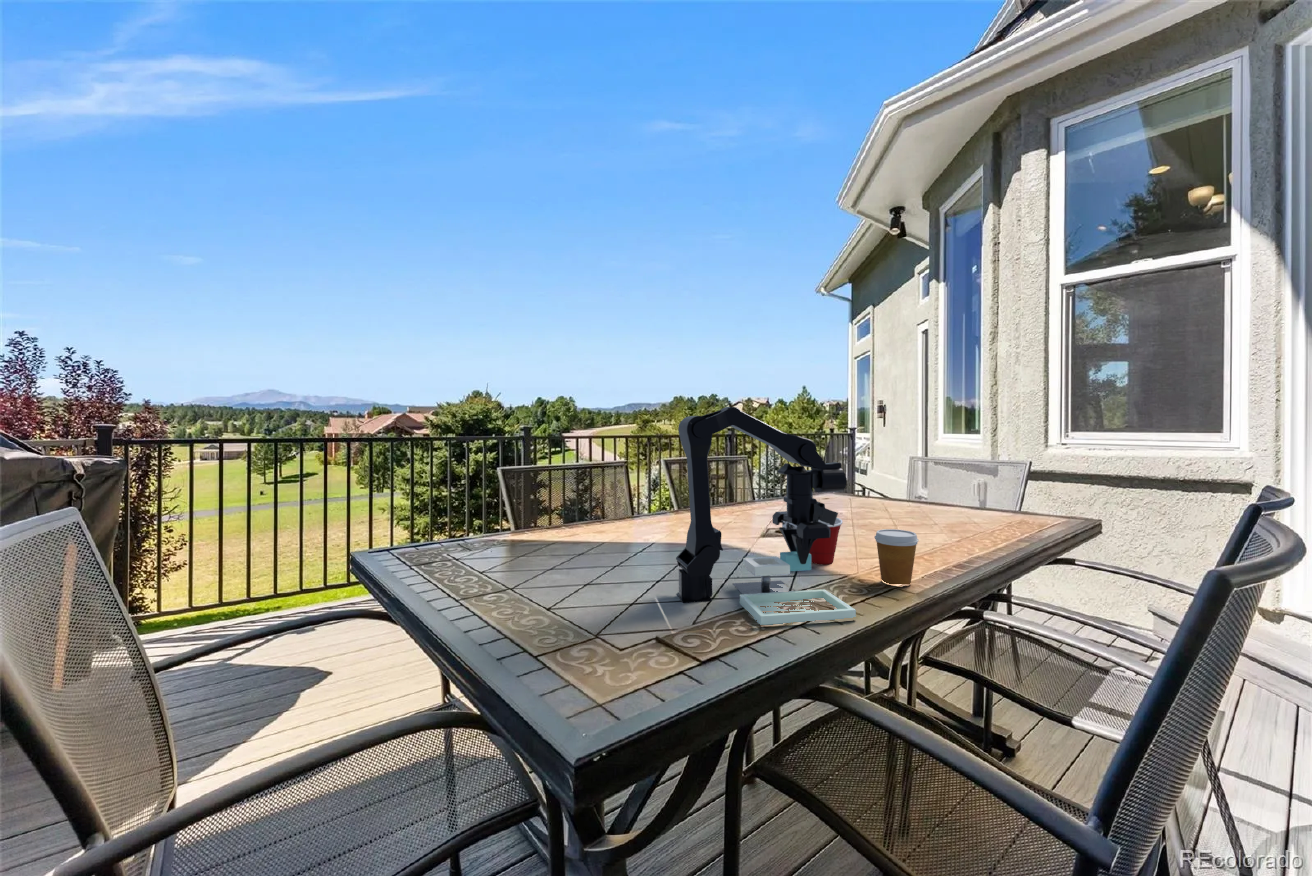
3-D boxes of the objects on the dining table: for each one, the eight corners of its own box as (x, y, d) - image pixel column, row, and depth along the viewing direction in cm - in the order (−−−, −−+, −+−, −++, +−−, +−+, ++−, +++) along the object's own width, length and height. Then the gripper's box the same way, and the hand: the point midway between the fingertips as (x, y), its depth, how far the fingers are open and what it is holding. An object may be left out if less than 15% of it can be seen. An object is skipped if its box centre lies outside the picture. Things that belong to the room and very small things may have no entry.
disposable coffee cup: (865, 581, 132) (865, 531, 131) (894, 575, 136) (894, 527, 135) (897, 592, 123) (898, 538, 123) (927, 586, 127) (928, 534, 127)
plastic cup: (796, 566, 146) (796, 520, 145) (805, 556, 155) (805, 514, 155) (838, 571, 141) (839, 524, 140) (845, 561, 150) (845, 517, 150)
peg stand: (748, 601, 118) (748, 572, 117) (732, 585, 129) (732, 558, 129) (802, 598, 119) (802, 569, 119) (780, 582, 131) (780, 556, 131)
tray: (761, 628, 103) (761, 616, 103) (739, 604, 116) (739, 594, 116) (855, 621, 106) (855, 610, 106) (824, 599, 119) (824, 589, 119)
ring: (755, 576, 120) (755, 560, 120) (743, 566, 128) (743, 551, 128) (815, 572, 122) (815, 557, 122) (800, 563, 130) (800, 548, 130)
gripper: (853, 498, 117) (853, 571, 118) (814, 487, 135) (814, 550, 136) (804, 500, 115) (804, 573, 116) (771, 488, 134) (771, 552, 134)
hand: (799, 561), depth 126 cm, fingers closed on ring, 3 cm apart
